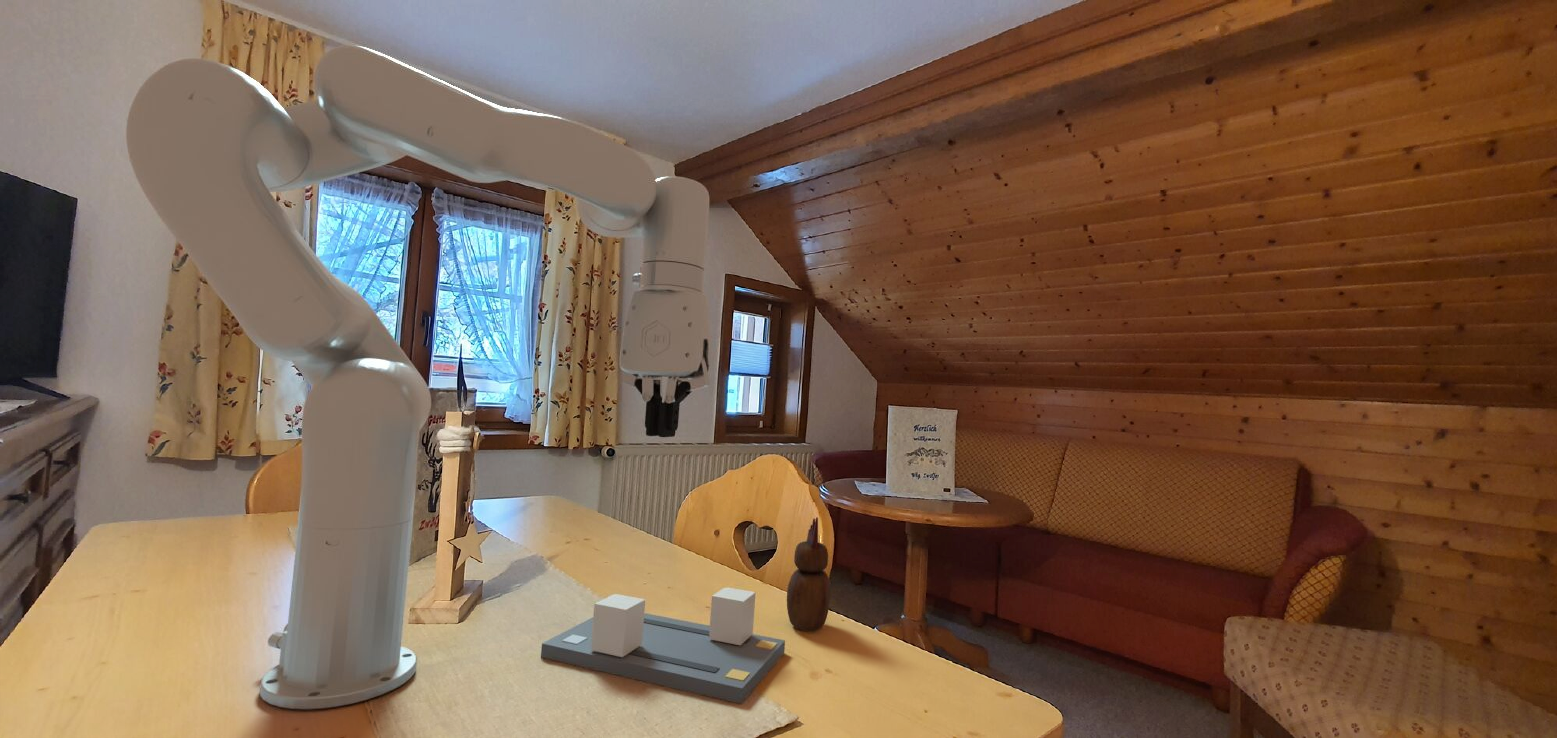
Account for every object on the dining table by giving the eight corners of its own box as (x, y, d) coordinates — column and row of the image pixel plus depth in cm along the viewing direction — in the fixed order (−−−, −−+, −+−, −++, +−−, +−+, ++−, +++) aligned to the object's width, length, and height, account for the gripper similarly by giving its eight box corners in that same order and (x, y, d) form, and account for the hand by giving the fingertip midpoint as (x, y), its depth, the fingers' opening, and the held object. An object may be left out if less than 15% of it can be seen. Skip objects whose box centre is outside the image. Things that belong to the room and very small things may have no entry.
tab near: (590, 650, 69) (594, 603, 69) (611, 637, 72) (614, 593, 73) (622, 657, 67) (626, 609, 68) (641, 644, 71) (645, 599, 71)
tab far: (708, 639, 74) (711, 595, 74) (722, 628, 78) (725, 587, 78) (740, 645, 73) (743, 601, 73) (752, 633, 76) (755, 592, 77)
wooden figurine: (824, 638, 81) (832, 521, 82) (781, 632, 82) (788, 516, 83) (831, 621, 88) (837, 512, 89) (790, 615, 89) (797, 508, 90)
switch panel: (540, 657, 70) (542, 642, 70) (611, 618, 83) (612, 606, 83) (741, 703, 62) (742, 687, 62) (784, 652, 76) (785, 639, 76)
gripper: (599, 276, 75) (586, 432, 74) (717, 277, 70) (705, 443, 69) (633, 288, 82) (622, 430, 81) (742, 289, 77) (732, 440, 76)
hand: (660, 435), depth 75 cm, fingers closed
